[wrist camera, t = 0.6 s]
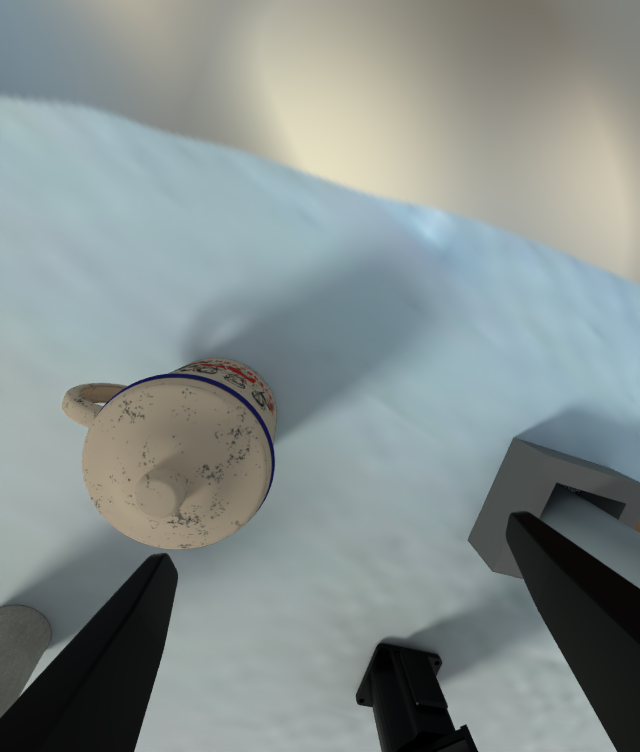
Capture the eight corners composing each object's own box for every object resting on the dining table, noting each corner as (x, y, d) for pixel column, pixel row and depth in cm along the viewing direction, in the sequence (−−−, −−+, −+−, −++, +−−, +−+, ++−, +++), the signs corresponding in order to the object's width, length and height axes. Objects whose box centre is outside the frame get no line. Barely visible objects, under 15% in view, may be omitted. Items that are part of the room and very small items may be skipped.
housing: (562, 565, 29) (598, 597, 26) (467, 540, 28) (492, 571, 25) (610, 468, 28) (655, 489, 25) (513, 437, 27) (546, 455, 23)
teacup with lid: (298, 382, 24) (305, 439, 13) (254, 485, 25) (223, 621, 14) (141, 317, 22) (-15, 317, 11) (101, 432, 24) (-78, 539, 12)
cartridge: (551, 536, 29) (788, 735, 15) (501, 523, 28) (703, 719, 14) (576, 485, 28) (848, 646, 14) (526, 470, 27) (762, 624, 14)
